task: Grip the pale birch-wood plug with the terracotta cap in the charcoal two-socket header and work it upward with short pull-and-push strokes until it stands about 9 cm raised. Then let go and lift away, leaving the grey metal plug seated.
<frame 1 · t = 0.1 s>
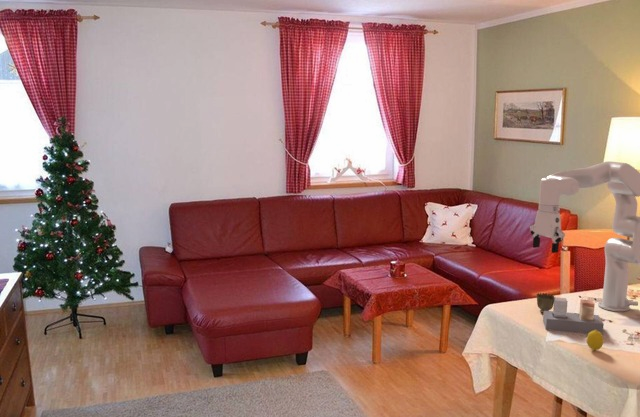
hand: (545, 249, 238), 31 cm above the table, tool pointing down, fingers open, 9 cm apart
header: (571, 328, 237), on the table
cup: (544, 313, 255), on the table
birch plug: (586, 315, 235), point 6 cm above the table, slide at 0.0 cm
metal plug: (559, 312, 237), point 6 cm above the table, slide at 0.0 cm
lemon: (594, 351, 216), on the table
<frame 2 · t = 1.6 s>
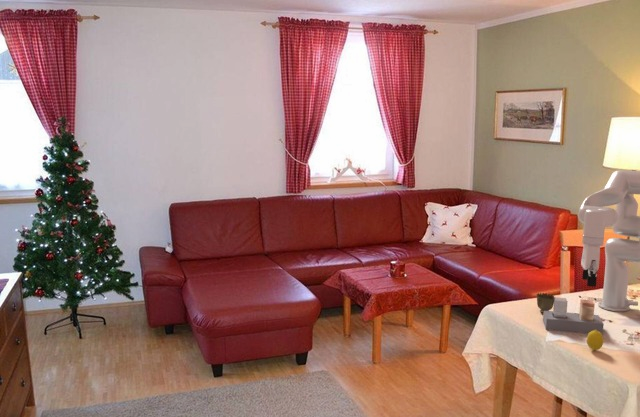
hand: (588, 282, 232), 20 cm above the table, tool pointing down, fingers open, 9 cm apart
nothing on the table moved.
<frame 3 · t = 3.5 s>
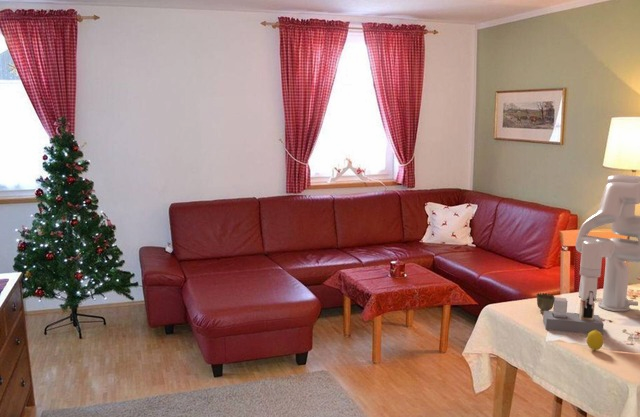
hand: (586, 314, 235), 6 cm above the table, tool pointing down, fingers closed on birch plug, 4 cm apart
birch plug: (586, 315, 235), point 6 cm above the table, slide at 0.0 cm, touching gripper, header
everything else where it was.
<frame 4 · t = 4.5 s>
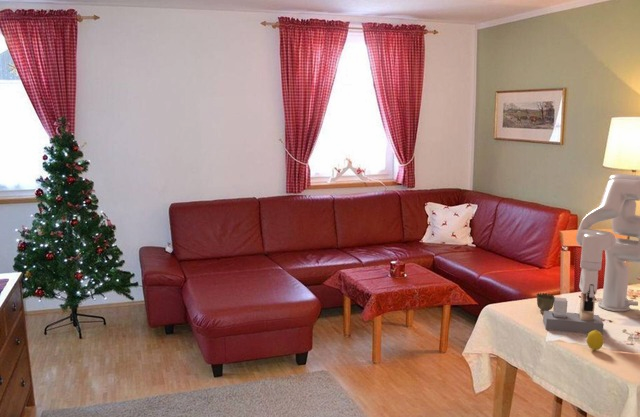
hand: (587, 308, 234), 9 cm above the table, tool pointing down, fingers closed on birch plug, 4 cm apart
birch plug: (586, 308, 234), point 9 cm above the table, slide at 2.8 cm, touching gripper
everything else where it was.
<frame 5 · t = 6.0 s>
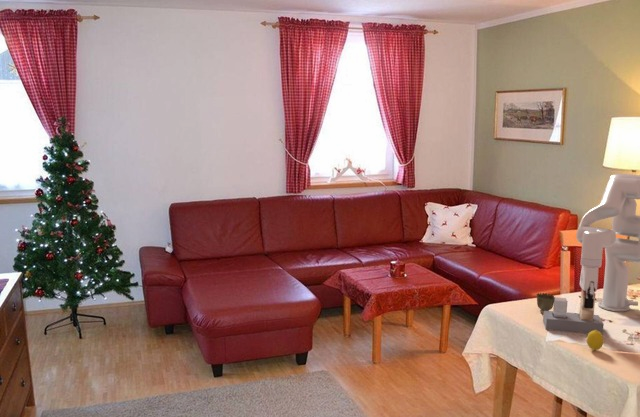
hand: (587, 305, 234), 10 cm above the table, tool pointing down, fingers closed on birch plug, 4 cm apart
birch plug: (587, 305, 234), point 10 cm above the table, slide at 4.0 cm, touching gripper
everything else where it was.
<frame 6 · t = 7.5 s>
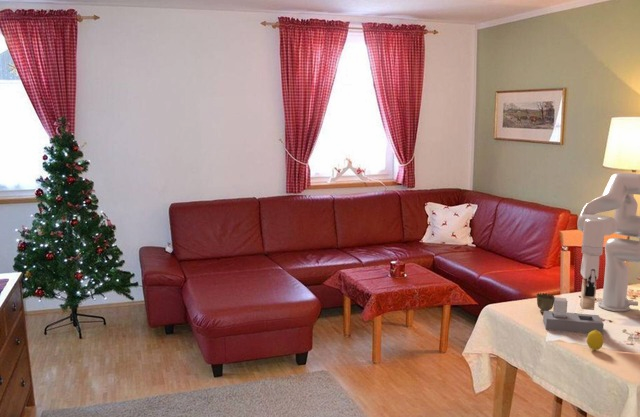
hand: (588, 293, 233), 15 cm above the table, tool pointing down, fingers closed on birch plug, 4 cm apart
birch plug: (588, 294, 233), point 15 cm above the table, slide at 8.9 cm, touching gripper
everything else where it was.
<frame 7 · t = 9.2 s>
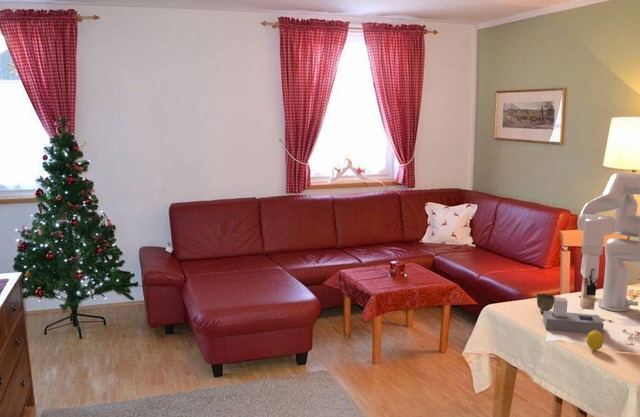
hand: (588, 291, 233), 16 cm above the table, tool pointing down, fingers open, 9 cm apart
birch plug: (588, 293, 233), point 15 cm above the table, slide at 9.0 cm
everything else where it was.
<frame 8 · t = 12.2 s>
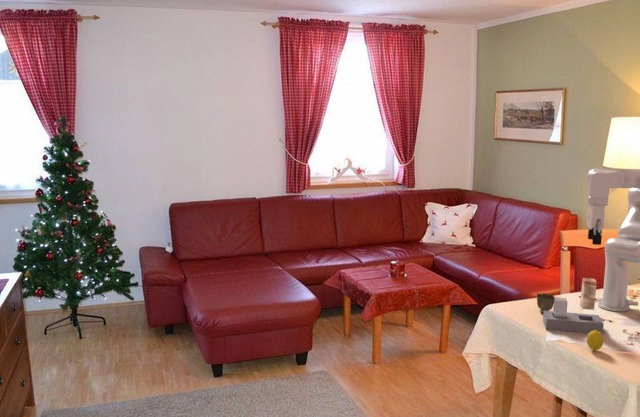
hand: (594, 241, 244), 33 cm above the table, tool pointing down, fingers open, 9 cm apart
nothing on the table moved.
at the end: birch plug slide at 9.0 cm; the gripper is holding nothing; metal plug slide at 0.0 cm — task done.
